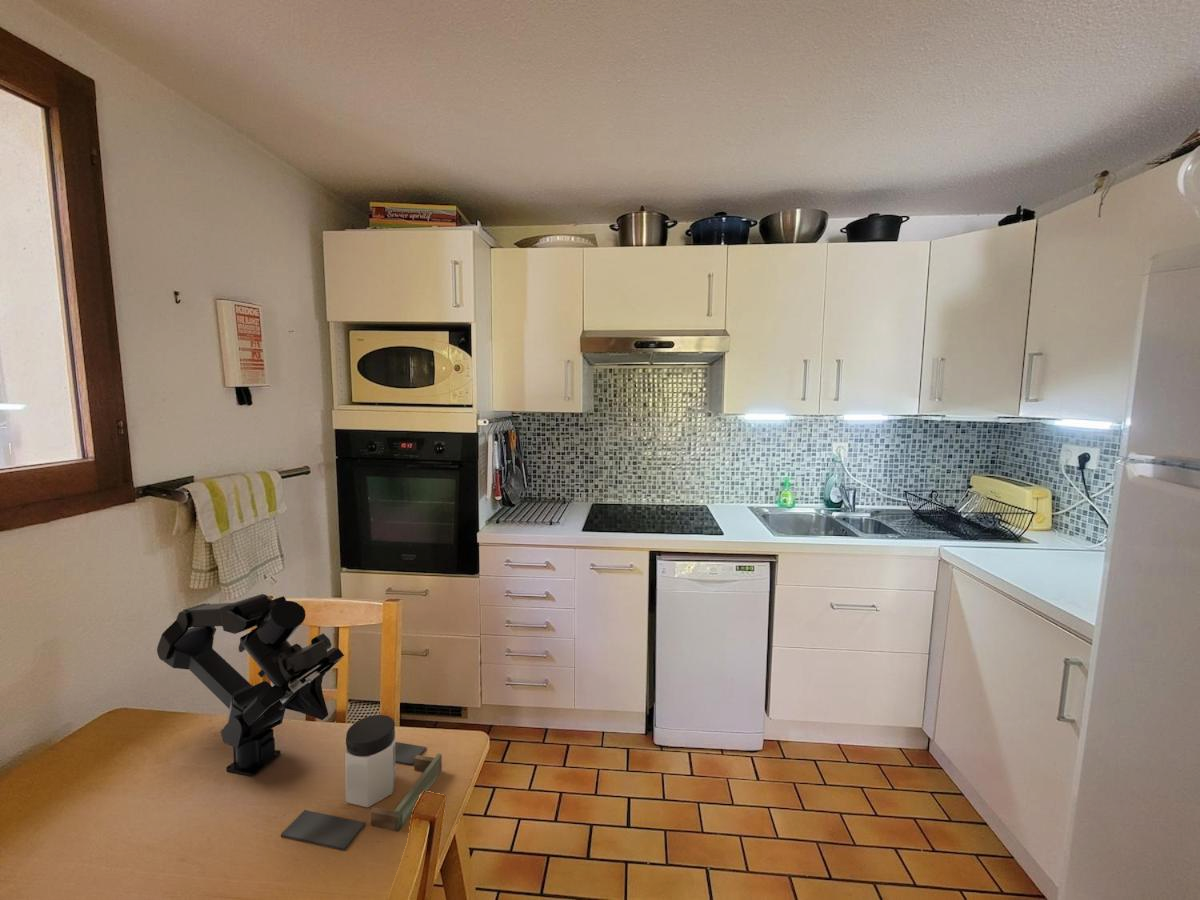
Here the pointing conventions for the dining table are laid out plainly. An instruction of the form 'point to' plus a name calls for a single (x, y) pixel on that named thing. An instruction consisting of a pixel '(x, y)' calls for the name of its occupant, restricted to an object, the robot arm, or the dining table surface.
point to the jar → (370, 760)
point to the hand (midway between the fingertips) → (325, 717)
